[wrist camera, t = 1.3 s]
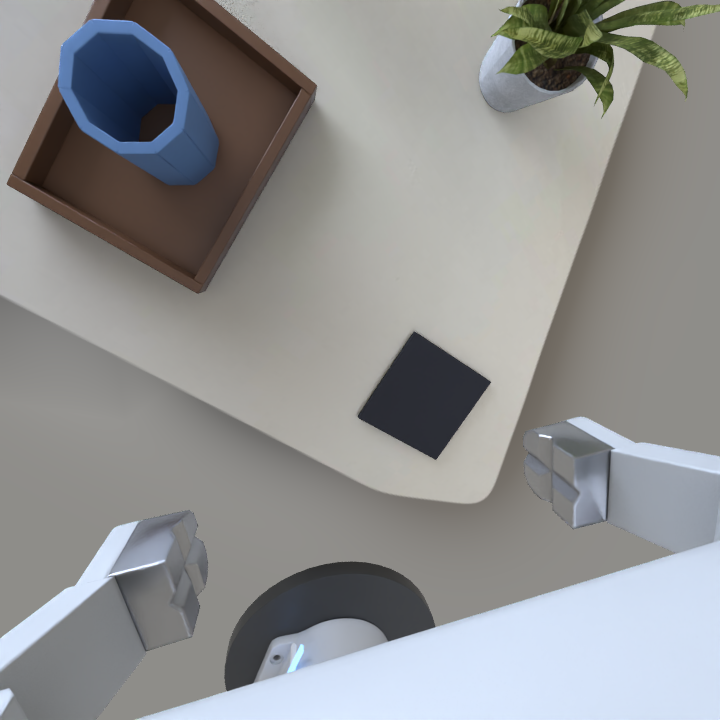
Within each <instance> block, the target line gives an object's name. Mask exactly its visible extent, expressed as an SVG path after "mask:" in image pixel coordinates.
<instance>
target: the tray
mask: <svg viewBox="0 0 720 720" xmlns="http://www.w3.org/2000/svg"><path fill="white" fill-rule="evenodd" d="M92 19H103V20H122V21H133V22H135V23H137V24H138V25H140V26H141V27H142V28H144V29H145V30H146V31H148V32H149V33H150V34H152V35H153V36H154V37H156V38H157V39H158V40H160V41H161V42H162V43H163V44H165V45H166V46H167V47H169V48H170V49H171V51H172V52H173V53H174V55H175V57H176V59H177V60H178V62H179V64H180V66H181V68H182V69H183V71H184V73H185V75H186V77H187V78H188V80H189V82H190V84H191V86H192V87H193V89H194V91H195V93H196V95H197V96H198V98H199V100H200V102H201V104H202V105H203V107H204V109H205V111H206V113H207V114H208V116H209V119H210V121H211V123H212V126H213V128H214V130H215V133H216V135H217V137H218V139H219V146H218V152H217V158H216V164H215V168H214V169H213V170H212V171H211V172H210V173H209V174H208V175H207V176H205V177H204V178H203V179H202V180H201V181H200V182H198V183H197V184H195V185H167V184H166V183H164V182H162V181H161V180H159V179H157V178H156V177H154V176H153V175H151V174H149V173H148V172H146V171H144V170H143V169H141V168H140V167H138V166H136V165H135V164H133V163H131V162H130V161H128V160H126V159H125V158H123V157H122V156H120V155H118V154H117V153H115V152H114V151H112V150H110V149H109V148H107V147H106V146H104V145H103V144H101V143H100V142H98V141H97V140H95V139H93V138H92V137H90V136H89V135H87V134H86V133H84V132H83V131H82V130H81V129H80V128H79V127H78V125H77V123H76V121H75V119H74V117H73V115H72V114H71V112H70V110H69V108H68V106H67V104H66V102H65V101H64V99H63V97H62V95H61V93H60V91H59V88H58V78H59V75H58V77H57V79H56V82H55V84H54V86H53V88H52V90H51V92H50V94H49V96H48V98H47V100H46V103H45V105H44V107H43V109H42V111H41V113H40V115H39V117H38V119H37V121H36V124H35V126H34V128H33V130H32V132H31V134H30V136H29V138H28V140H27V142H26V145H25V147H24V149H23V151H22V153H21V155H20V157H19V159H18V161H17V163H16V166H15V168H14V170H13V172H12V174H11V175H10V178H9V180H8V182H7V185H8V186H10V187H12V188H14V189H15V190H17V191H19V192H21V193H22V194H24V195H26V196H28V197H29V198H31V199H33V200H35V201H36V202H38V203H40V204H42V205H43V206H45V207H47V208H49V209H50V210H52V211H54V212H56V213H57V214H59V215H61V216H63V217H64V218H66V219H68V220H70V221H71V222H73V223H75V224H77V225H78V226H80V227H82V228H84V229H85V230H87V231H89V232H91V233H92V234H94V235H96V236H98V237H99V238H101V239H103V240H105V241H106V242H108V243H110V244H112V245H113V246H115V247H117V248H119V249H120V250H122V251H124V252H126V253H127V254H129V255H131V256H133V257H134V258H136V259H138V260H140V261H141V262H143V263H145V264H147V265H148V266H150V267H152V268H154V269H155V270H157V271H159V272H161V273H162V274H164V275H166V276H168V277H169V278H171V279H173V280H175V281H176V282H178V283H180V284H182V285H183V286H185V287H187V288H189V289H190V290H192V291H194V292H196V293H197V294H199V293H201V292H204V291H205V290H206V289H207V287H208V285H209V283H210V282H211V280H212V278H213V276H214V275H215V273H216V271H217V269H218V268H219V266H220V264H221V262H222V261H223V259H224V257H225V255H226V254H227V252H228V250H229V248H230V247H231V245H232V243H233V241H234V240H235V238H236V236H237V234H238V233H239V231H240V229H241V227H242V226H243V224H244V222H245V220H246V219H247V217H248V215H249V214H250V212H251V210H252V208H253V207H254V205H255V203H256V201H257V200H258V198H259V196H260V194H261V193H262V191H263V189H264V187H265V186H266V184H267V182H268V180H269V179H270V177H271V175H272V173H273V172H274V170H275V168H276V166H277V165H278V163H279V161H280V159H281V158H282V156H283V154H284V152H285V151H286V149H287V147H288V145H289V144H290V142H291V140H292V138H293V137H294V135H295V133H296V131H297V130H298V128H299V126H300V124H301V123H302V121H303V119H304V117H305V116H306V114H307V112H308V110H309V109H310V107H311V105H312V103H313V102H314V100H315V95H316V89H317V85H316V84H315V83H314V82H312V81H311V80H310V79H309V78H307V77H306V76H305V75H304V74H303V73H301V72H300V71H299V70H298V69H297V68H295V67H294V66H293V65H292V64H291V63H289V62H288V61H287V60H286V59H285V58H283V57H282V56H281V55H280V54H278V53H277V52H276V51H275V50H274V49H272V48H271V47H270V46H269V45H268V44H266V43H265V42H264V41H263V40H262V39H260V38H259V37H258V36H257V35H256V34H254V33H253V32H252V31H251V30H249V29H248V28H247V27H246V26H245V25H243V24H242V23H241V22H240V21H239V20H237V19H236V18H235V17H234V16H233V15H231V14H230V13H229V12H228V11H226V10H225V9H224V8H223V7H222V6H220V5H219V4H218V3H217V2H216V1H214V0H94V2H93V4H92V6H91V8H90V10H89V12H88V14H87V16H86V19H85V21H84V23H83V25H84V24H86V23H87V22H88V21H89V20H92ZM83 25H82V26H83ZM175 107H176V104H157V105H156V106H155V107H154V108H152V109H151V110H150V111H149V112H148V113H147V114H146V115H144V116H143V117H142V118H141V126H140V134H139V142H152V141H153V140H154V139H155V138H157V137H158V136H159V135H160V134H161V133H162V132H163V131H165V130H166V129H167V128H168V127H169V126H170V125H172V124H173V120H174V114H175Z"/></svg>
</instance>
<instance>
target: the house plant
mask: <svg viewBox="0 0 720 720" xmlns="http://www.w3.org/2000/svg"><path fill="white" fill-rule="evenodd" d="M623 1H625V0H519V2H518V3H517V5H516V7H507V8H505V9H502V10H500V9H499V10H500V11H502V12H504V13H508V14H511V15H510V16H509V18H508V20H507V21H506V23H505V24H504V25H503V26H502V27H501V28H500V29H499V30H498V31H497V32H496V33H495V34H493V35H492V36H496V35H498V36H497V38H496V39H495V41H494V42H493V44H492V46H491V47H490V49H489V50H488V52H487V54H486V55H485V57H484V60H483V62H482V64H481V69H480V80H479V83H480V88H481V92H482V94H483V96H484V98H485V100H486V101H487V103H488V104H489V105H490V106H491V107H493V108H494V109H495V110H497V111H501V112H512V111H515V110H518V109H521V108H524V107H527V106H530V105H533V104H536V103H539V102H542V101H545V100H548V99H551V98H554V97H557V96H560V95H563V94H565V93H568V92H571V91H573V90H574V89H575V88H577V87H578V86H579V85H581V84H582V83H583V82H584V81H585V80H586V78H587V79H588V81H589V82H590V83H591V85H592V86H593V88H594V89H595V91H596V92H597V94H598V96H597V99H596V101H595V104H596V102H597V100H598V98H599V97H600V99H601V101H602V102H603V109H604V113H603V115H604V114H605V112H606V111H607V109H608V107H609V106H610V104H611V103H612V101H613V94H614V91H613V88H612V85H611V83H610V82H609V79H610V77H611V75H612V72H613V67H614V55H613V49H612V47H611V46H610V44H611V45H615V46H618V47H621V48H623V49H626V50H627V51H629V52H631V53H632V54H634V55H635V56H637V57H638V58H639V59H640V60H642V61H643V62H645V63H648V64H651V65H654V66H656V67H658V68H661V69H663V70H665V71H666V72H667V74H668V75H669V76H670V77H671V79H672V80H673V82H674V83H675V84H676V86H677V87H678V88H679V89H680V90H681V91H682V92H683V93H684V95H685V96H686V98H687V92H688V88H687V80H686V74H685V71H684V69H683V67H682V66H681V64H680V62H679V61H678V60H677V58H676V57H675V56H673V55H672V54H670V53H669V52H668V51H666V50H665V49H663V48H662V47H660V46H659V45H657V44H656V43H654V42H653V41H651V40H648V39H645V38H642V37H628V36H621V35H616V34H611V33H608V32H611V31H614V30H617V29H620V28H625V27H630V26H634V25H680V24H682V25H683V26H685V19H688V18H693V17H697V16H701V15H705V14H710V13H714V12H719V11H720V4H719V5H693V6H688V7H683V8H682V7H681V6H680V5H679V4H677V3H675V2H672V1H661V2H656V3H651V4H647V5H643V6H639V7H636V8H633V9H629V10H626V11H623V12H620V13H618V14H616V15H613V16H611V17H609V18H607V19H604V20H603V15H602V14H604V13H605V12H606V11H608V10H609V9H611V8H613V7H615V6H616V5H618V4H620V3H621V2H623ZM492 36H491V37H492ZM598 58H600V59H602V60H604V61H605V62H607V64H608V66H609V72H608V74H607V76H606V77H604V76H603V75H602V74H601V73H599V72H598V71H596V70H595V69H593V68H594V66H595V64H596V62H597V60H598ZM595 104H594V105H595ZM603 115H602V117H603Z"/></svg>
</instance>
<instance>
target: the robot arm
mask: <svg viewBox="0 0 720 720" xmlns="http://www.w3.org/2000/svg"><path fill="white" fill-rule="evenodd" d="M523 447H524V448H525V449H526V450H527V451H528V452H529V454H528V455H527V457H526V459H525V461H524V474H525V477H526V480H527V482H528V485H529V486H530V488H531V489H532V491H533V492H534V493H535V494H536V495H537V496H538V497H539V498H540V499H543V500H545V501H548V502H551V503H552V508H553V511H554V512H555V513H556V514H557V515H558V516H559V517H560V518H561V519H562V520H564V521H565V522H566V523H567V524H568V525H569V526H570V527H571V528H572V529H576V528H580V527H584V526H588V525H592V524H596V523H600V522H604V521H607V523H609V524H611V525H614V526H616V527H618V528H621V529H623V530H625V531H627V532H629V533H632V534H634V535H636V536H638V537H641V538H643V539H645V540H647V541H649V542H652V543H654V544H656V545H659V546H661V547H663V548H665V549H667V550H670V551H672V552H674V553H676V554H673V555H670V556H667V557H664V558H660V559H657V560H654V561H651V562H647V563H644V564H641V565H637V566H634V567H631V568H628V569H624V570H622V571H618V572H615V573H611V574H608V575H605V576H602V577H598V578H595V579H592V580H589V581H585V582H582V583H579V584H575V585H572V586H569V587H566V588H563V589H560V590H556V591H553V592H549V593H546V594H543V595H540V596H536V597H533V598H530V599H526V600H523V601H520V602H517V603H513V604H510V605H507V606H504V607H501V608H497V609H494V610H490V611H487V612H484V613H481V614H478V615H474V616H471V617H468V618H465V619H461V620H458V621H454V622H451V623H448V624H445V625H441V626H438V627H435V628H431V629H428V630H425V631H422V632H418V633H415V634H412V635H409V636H405V637H402V638H399V639H395V640H392V641H389V642H388V640H387V638H386V636H385V635H384V633H383V632H382V631H381V630H380V629H379V628H378V627H376V626H375V625H373V624H371V623H369V622H367V621H363V620H359V619H352V618H341V619H333V620H329V621H325V622H322V623H319V624H317V625H314V626H312V627H310V628H308V629H306V630H304V631H302V632H299V633H296V634H290V635H284V636H280V637H277V638H275V639H274V640H272V642H271V643H270V645H269V648H268V650H267V652H266V655H265V657H264V659H263V662H262V664H261V666H260V669H259V671H258V673H257V676H256V678H255V680H254V683H253V684H250V685H246V686H243V687H240V688H237V689H233V690H230V691H227V692H224V693H221V694H217V695H214V696H211V697H208V698H205V699H201V700H198V701H195V702H191V703H188V704H185V705H181V706H178V707H175V708H171V709H169V710H165V711H162V712H158V713H155V714H152V715H149V716H145V717H142V718H138V719H135V720H720V456H714V455H709V454H703V453H698V452H692V451H687V450H682V449H676V448H671V447H665V446H660V445H654V444H649V443H644V442H642V443H637V444H636V443H634V442H633V441H630V440H629V439H627V438H625V437H623V436H621V435H619V434H617V433H615V432H613V431H611V430H609V429H607V428H605V427H603V426H601V425H599V424H598V423H596V422H594V421H592V420H590V419H588V418H586V417H576V418H572V419H569V420H565V421H561V422H558V423H555V424H551V425H547V426H543V427H540V428H536V429H532V430H528V431H525V434H524V437H523ZM197 527H198V524H197V521H196V518H195V516H194V513H192V512H191V511H190V510H187V511H182V512H177V513H172V514H168V515H163V516H159V517H154V518H150V519H145V520H142V521H141V520H140V521H135V522H131V523H127V524H124V525H119V526H117V527H115V528H113V530H112V531H111V533H110V534H109V536H108V537H107V539H106V540H105V542H104V543H103V545H102V546H101V548H100V549H99V551H98V552H97V554H96V555H95V557H94V558H93V560H92V561H91V563H90V564H89V566H88V568H87V569H86V570H85V572H84V574H83V575H82V577H81V578H80V580H79V581H78V583H77V584H76V586H73V587H69V588H66V589H65V590H63V591H62V592H61V593H60V594H58V595H57V596H56V597H54V598H53V599H52V600H50V601H49V602H48V603H46V604H45V605H44V606H42V607H41V608H40V609H39V610H37V611H36V612H34V613H33V614H32V615H31V616H29V617H28V618H27V619H25V620H24V621H23V622H21V623H20V624H19V625H17V626H16V627H15V628H13V629H12V630H11V631H9V632H8V633H7V634H5V635H4V636H3V637H2V638H0V720H96V719H97V718H98V717H99V715H100V714H101V713H102V711H103V710H104V708H105V707H106V706H107V705H108V704H109V702H110V701H111V700H112V698H113V697H114V696H115V694H116V693H117V692H118V690H119V689H120V688H121V687H122V685H123V684H124V683H125V681H126V680H127V679H128V677H129V676H130V675H131V673H132V672H133V671H134V670H135V668H136V667H137V666H138V664H139V663H140V662H141V660H142V659H143V657H144V656H145V655H146V651H149V650H152V649H155V648H159V647H162V646H165V645H168V644H171V643H175V642H178V641H181V640H184V639H187V638H191V637H192V635H193V632H194V628H195V624H196V620H197V616H198V613H199V609H200V605H199V602H198V599H197V596H198V595H199V594H200V593H201V592H202V590H203V589H204V588H205V585H206V580H207V574H208V560H207V553H206V549H205V546H204V542H203V541H201V540H200V539H198V538H197V537H195V533H196V530H197Z"/></svg>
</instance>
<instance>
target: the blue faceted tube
mask: <svg viewBox="0 0 720 720" xmlns="http://www.w3.org/2000/svg"><path fill="white" fill-rule="evenodd" d="M62 45H63V46H61V54H60V66H59V78H58V88H59V91H60V93H61V95H62V97H63V99H64V101H65V102H66V104H67V106H68V108H69V110H70V112H71V114H72V115H73V117H74V119H75V121H76V123H77V125H78V127H79V128H80V129H81V130H82V131H83V132H84V133H86V134H87V135H89V136H90V137H92V138H93V139H95V140H97V141H98V142H100V143H101V144H103V145H104V146H106V147H107V148H109V149H110V150H112V151H114V152H115V153H117V154H118V155H120V156H122V157H123V158H125V159H126V160H128V161H130V162H131V163H133V164H135V165H136V166H138V167H140V168H141V169H143V170H144V171H146V172H148V173H149V174H151V175H153V176H154V177H156V178H157V179H159V180H161V181H162V182H164V183H166V184H167V185H195V184H197V183H198V182H200V181H201V180H202V179H203V178H204V177H205V176H207V175H208V174H209V173H210V172H211V171H212V170H213V169H214V168H215V164H216V158H217V152H218V146H219V139H218V137H217V135H216V133H215V130H214V128H213V126H212V123H211V121H210V119H209V116H208V114H207V113H206V111H205V109H204V107H203V105H202V104H201V102H200V100H199V98H198V96H197V95H196V93H195V91H194V89H193V87H192V86H191V84H190V82H189V80H188V78H187V77H186V75H185V73H184V71H183V69H182V68H181V66H180V64H179V62H178V60H177V59H176V57H175V55H174V53H173V52H172V51H171V49H170V48H169V47H167V46H166V45H165V44H163V43H162V42H161V41H160V40H158V39H157V38H156V37H154V36H153V35H152V34H150V33H149V32H148V31H146V30H145V29H144V28H142V27H141V26H140V25H138V24H137V23H135V22H133V21H122V20H103V19H92V20H89V21H88V22H87V23H86V24H84V25H83V26H82V27H81V28H80V29H79V30H78V31H76V32H75V33H74V34H73V35H72V36H71V37H70V38H69V39H67V40H66V41H65V42H64V43H63V44H62ZM157 104H176V107H175V114H174V120H173V124H172V125H170V126H169V127H168V128H167V129H166V130H165V131H163V132H162V133H161V134H160V135H159V136H158V137H157V138H155V139H154V140H153V141H152V142H139V134H140V126H141V118H142V117H143V116H144V115H146V114H147V113H148V112H149V111H150V110H151V109H152V108H154V107H155V106H156V105H157Z"/></svg>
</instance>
